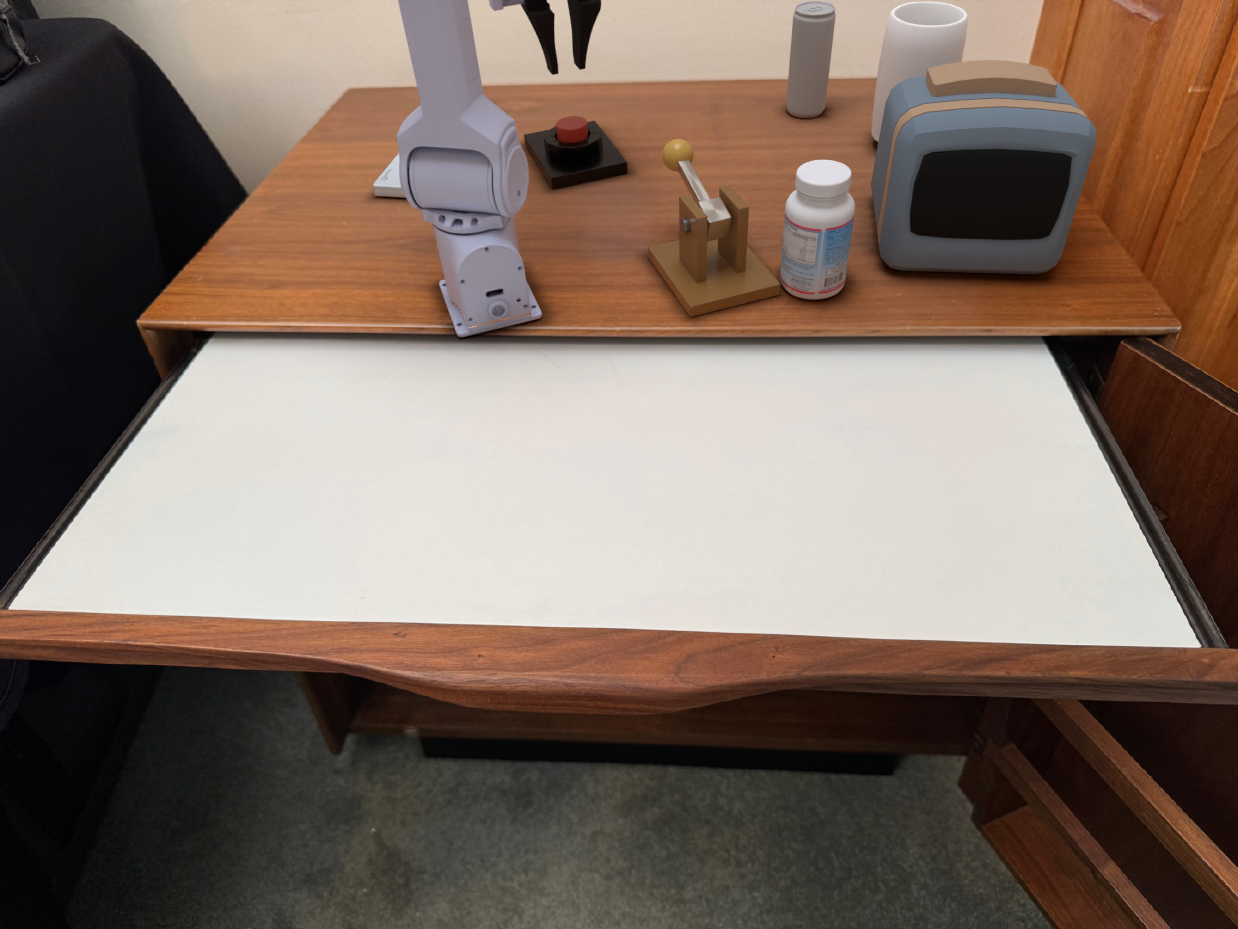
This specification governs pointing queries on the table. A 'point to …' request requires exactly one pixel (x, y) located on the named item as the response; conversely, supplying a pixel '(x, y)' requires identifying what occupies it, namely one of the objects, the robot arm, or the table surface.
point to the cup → (917, 47)
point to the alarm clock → (979, 169)
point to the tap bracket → (712, 260)
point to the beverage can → (810, 58)
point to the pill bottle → (817, 230)
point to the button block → (575, 157)
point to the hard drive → (389, 181)
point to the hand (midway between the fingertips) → (566, 68)
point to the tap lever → (697, 188)
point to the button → (572, 129)
